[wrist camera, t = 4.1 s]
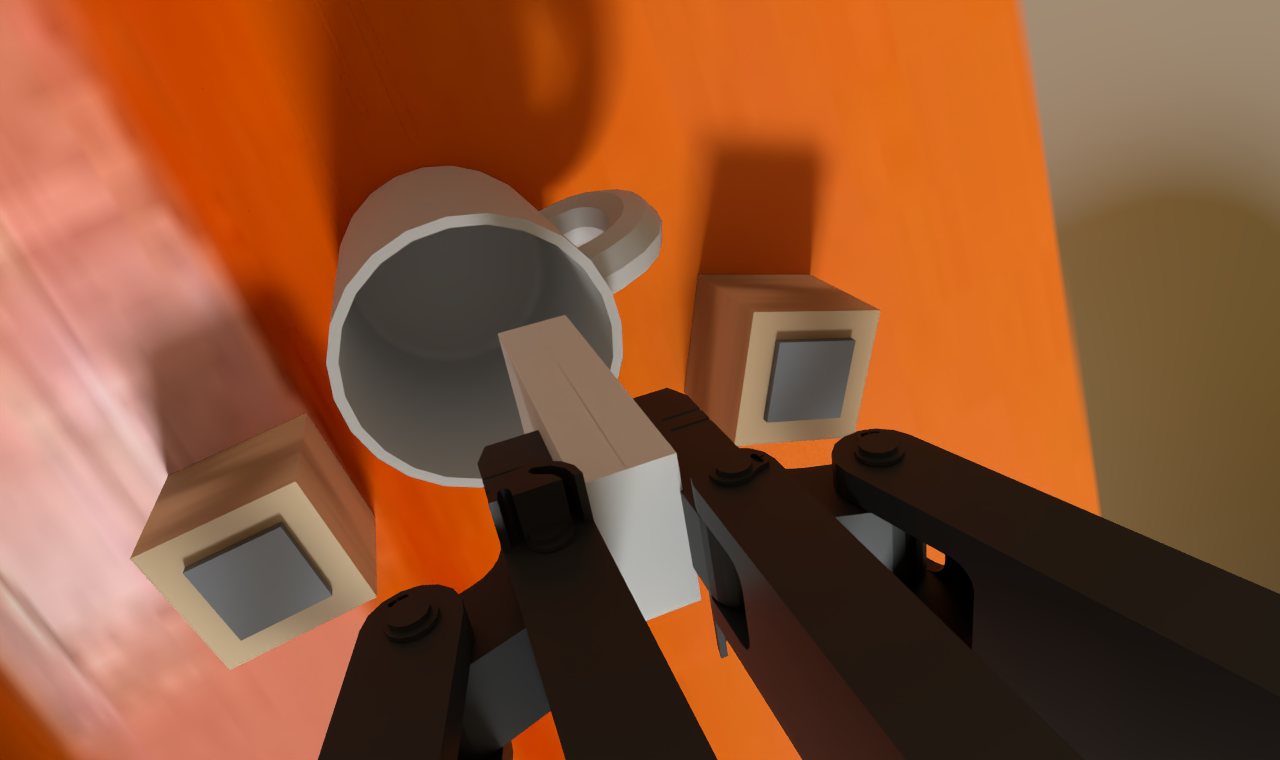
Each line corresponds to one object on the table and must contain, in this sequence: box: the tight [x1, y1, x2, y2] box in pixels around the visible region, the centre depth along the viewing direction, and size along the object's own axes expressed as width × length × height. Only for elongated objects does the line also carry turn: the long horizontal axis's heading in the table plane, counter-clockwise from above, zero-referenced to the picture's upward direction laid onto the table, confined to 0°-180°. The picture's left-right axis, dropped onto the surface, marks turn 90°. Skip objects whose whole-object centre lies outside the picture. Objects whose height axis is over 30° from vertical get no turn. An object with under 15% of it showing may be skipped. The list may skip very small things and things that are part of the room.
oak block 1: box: [130, 413, 377, 670], centre depth 26 cm, size 5×5×5 cm
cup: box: [326, 165, 662, 487], centre depth 23 cm, size 7×10×9 cm
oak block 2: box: [684, 274, 880, 446], centre depth 29 cm, size 5×5×5 cm
